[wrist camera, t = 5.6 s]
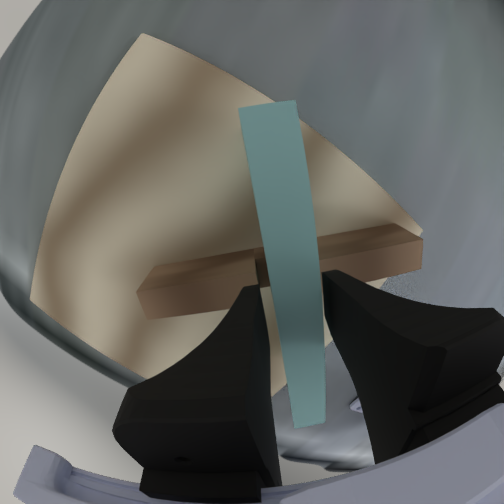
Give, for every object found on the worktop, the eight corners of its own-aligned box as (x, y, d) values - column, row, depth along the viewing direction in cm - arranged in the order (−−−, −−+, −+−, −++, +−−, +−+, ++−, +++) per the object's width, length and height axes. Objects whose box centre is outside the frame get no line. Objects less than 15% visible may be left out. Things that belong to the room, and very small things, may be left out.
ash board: (418, 227, 15) (423, 230, 14) (242, 414, 20) (242, 420, 20) (145, 36, 11) (142, 32, 10) (33, 296, 16) (30, 299, 16)
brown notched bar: (394, 223, 14) (422, 239, 11) (394, 248, 15) (421, 268, 12) (153, 266, 15) (135, 291, 12) (162, 291, 15) (147, 320, 12)
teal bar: (241, 128, 12) (238, 108, 7) (273, 122, 12) (295, 99, 7) (282, 355, 17) (294, 428, 12) (305, 351, 17) (325, 422, 12)
